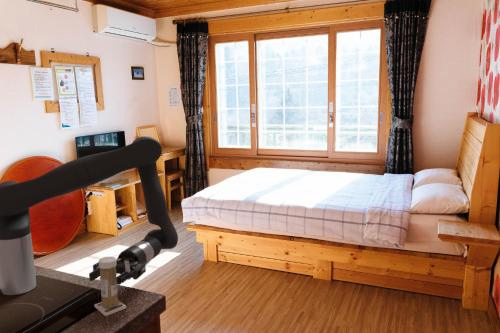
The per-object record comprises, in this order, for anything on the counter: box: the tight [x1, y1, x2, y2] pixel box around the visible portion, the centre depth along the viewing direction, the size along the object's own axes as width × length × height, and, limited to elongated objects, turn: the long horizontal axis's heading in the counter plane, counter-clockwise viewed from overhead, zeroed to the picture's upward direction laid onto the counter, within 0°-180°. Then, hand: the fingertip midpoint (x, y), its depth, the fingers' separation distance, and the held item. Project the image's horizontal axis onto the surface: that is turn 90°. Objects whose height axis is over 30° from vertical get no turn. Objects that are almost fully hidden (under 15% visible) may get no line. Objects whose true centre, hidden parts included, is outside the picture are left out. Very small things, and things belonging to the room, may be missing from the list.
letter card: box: [94, 299, 127, 317], centre depth 111 cm, size 7×6×1 cm
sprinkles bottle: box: [98, 256, 119, 308], centre depth 110 cm, size 5×5×13 cm
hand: (103, 279), depth 107 cm, fingers open, 8 cm apart
